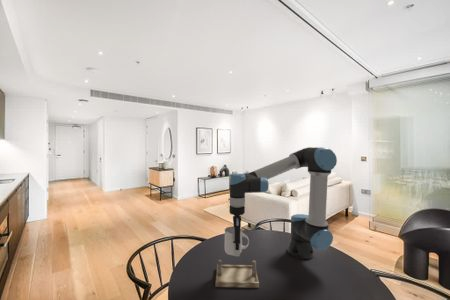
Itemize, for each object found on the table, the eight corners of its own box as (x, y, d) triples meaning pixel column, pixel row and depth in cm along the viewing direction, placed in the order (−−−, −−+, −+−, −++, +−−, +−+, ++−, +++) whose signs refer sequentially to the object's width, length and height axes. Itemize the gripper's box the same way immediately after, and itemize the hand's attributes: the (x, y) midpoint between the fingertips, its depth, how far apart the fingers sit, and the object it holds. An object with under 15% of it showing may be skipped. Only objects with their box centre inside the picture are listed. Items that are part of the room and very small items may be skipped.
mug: (248, 257, 96) (249, 234, 96) (223, 255, 98) (223, 232, 97) (248, 248, 105) (249, 227, 104) (225, 246, 106) (225, 226, 106)
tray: (255, 269, 108) (255, 254, 108) (258, 287, 94) (259, 270, 94) (217, 268, 109) (217, 253, 109) (215, 286, 95) (215, 269, 95)
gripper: (229, 199, 112) (229, 240, 112) (229, 212, 90) (228, 262, 91) (243, 199, 111) (242, 240, 112) (246, 212, 90) (245, 263, 90)
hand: (236, 250), depth 101 cm, fingers closed on mug, 9 cm apart
